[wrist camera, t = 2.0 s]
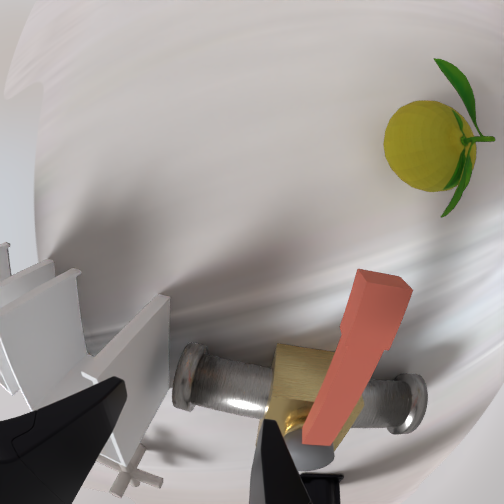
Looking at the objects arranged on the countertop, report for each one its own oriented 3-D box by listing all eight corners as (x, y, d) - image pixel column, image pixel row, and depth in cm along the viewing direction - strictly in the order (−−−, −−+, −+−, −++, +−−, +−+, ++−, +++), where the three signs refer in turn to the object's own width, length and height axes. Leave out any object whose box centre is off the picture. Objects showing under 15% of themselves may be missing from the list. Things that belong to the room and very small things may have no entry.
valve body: (415, 358, 20) (443, 411, 14) (387, 405, 22) (403, 458, 15) (196, 326, 22) (163, 381, 15) (193, 379, 24) (167, 434, 17)
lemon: (392, 89, 15) (463, 36, 6) (449, 141, 15) (540, 132, 6) (347, 158, 17) (406, 142, 8) (408, 209, 17) (495, 242, 8)
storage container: (18, 316, 27) (-32, 351, 16) (6, 242, 24) (-57, 268, 13) (170, 387, 25) (126, 467, 15) (171, 296, 22) (96, 379, 11)
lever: (322, 455, 16) (323, 473, 14) (275, 451, 16) (274, 469, 14) (411, 277, 11) (426, 292, 10) (342, 265, 12) (350, 279, 10)
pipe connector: (105, 416, 29) (72, 463, 19) (169, 441, 28) (143, 498, 19) (118, 449, 32) (94, 490, 22) (174, 470, 31) (155, 517, 21)
